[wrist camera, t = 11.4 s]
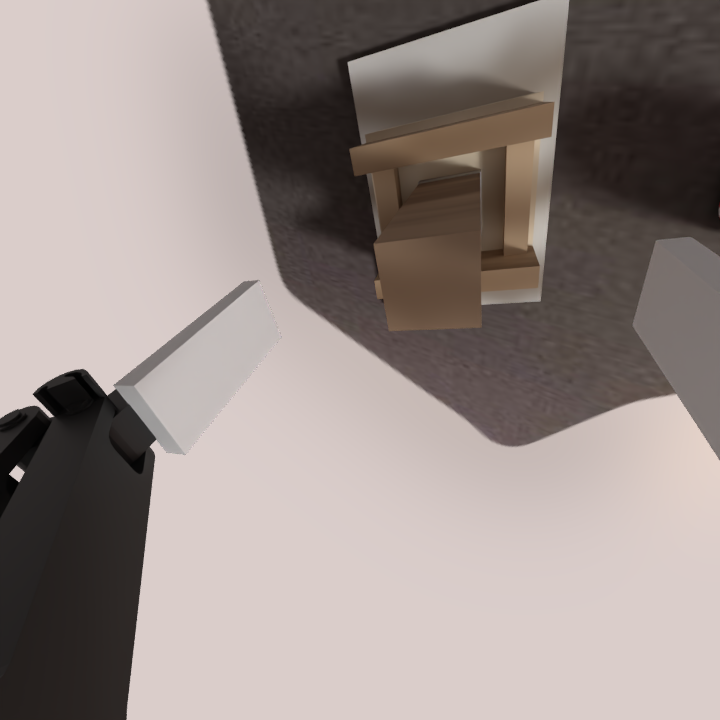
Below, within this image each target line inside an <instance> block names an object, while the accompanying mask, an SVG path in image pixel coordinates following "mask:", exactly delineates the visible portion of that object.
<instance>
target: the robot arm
mask: <svg viewBox="0 0 720 720" xmlns="http://www.w3.org/2000/svg"><path fill="white" fill-rule="evenodd" d="M632 326H633V327H634V329H635V330H636V332H637V334H638V335H639V337H640V338H641V340H642V341H643V343H644V344H645V346H646V347H647V349H648V350H649V352H650V354H651V355H652V357H653V358H654V360H655V361H656V363H657V364H658V366H659V367H660V369H661V371H662V372H663V374H664V375H665V377H666V378H667V380H668V381H669V383H670V384H671V386H672V387H673V389H674V391H675V392H676V394H677V395H678V397H679V398H680V400H681V401H682V403H683V404H684V406H685V407H686V409H687V411H688V412H689V414H690V415H691V417H692V418H693V420H694V421H695V423H696V424H697V426H698V428H699V429H700V430H701V432H702V433H703V435H704V436H705V438H706V440H707V441H708V443H709V444H710V446H711V448H712V449H713V451H714V452H715V453H716V455H717V457H718V458H719V460H720V256H718V255H717V254H715V253H714V252H712V251H711V250H709V249H708V248H707V247H705V246H704V245H702V244H701V243H699V242H698V241H696V240H695V239H693V238H692V237H683V238H673V239H663V240H656V242H655V246H654V249H653V253H652V256H651V260H650V264H649V267H648V271H647V274H646V278H645V282H644V285H643V289H642V292H641V296H640V300H639V303H638V307H637V311H636V314H635V318H634V321H633V325H632ZM280 338H281V334H280V332H279V329H278V326H277V324H276V321H275V319H274V316H273V314H272V311H271V309H270V306H269V304H268V301H267V299H266V296H265V294H264V291H263V288H262V286H261V283H260V281H259V280H257V281H247V282H243V283H241V284H240V285H239V286H238V287H237V288H235V289H234V290H233V291H232V292H230V293H229V294H228V295H226V296H225V297H224V298H223V299H221V300H220V301H219V302H218V303H216V305H214V306H213V307H211V308H210V309H209V310H208V311H206V312H205V313H204V314H202V315H201V316H200V317H199V318H197V319H196V320H195V321H194V322H192V323H191V324H190V325H189V326H188V327H186V328H185V329H184V330H182V331H181V332H180V333H179V334H177V335H176V336H175V337H174V338H172V339H171V340H170V341H169V342H167V343H166V344H165V345H164V346H162V347H161V348H160V349H159V350H157V351H156V352H155V353H154V354H152V355H151V356H150V357H148V358H147V359H146V360H145V361H143V362H142V363H141V364H140V365H138V366H137V367H136V368H135V369H133V370H132V371H131V372H130V373H128V374H127V375H126V376H125V377H123V378H122V379H121V380H119V381H118V382H117V383H116V384H114V387H115V388H116V390H114V391H113V392H112V393H110V394H109V395H108V396H107V395H106V394H105V392H104V391H103V390H102V389H101V388H100V386H99V385H98V384H97V383H96V381H95V380H94V379H93V378H92V377H91V375H90V374H89V373H88V372H87V371H86V370H84V369H80V370H74V371H70V372H67V373H65V374H62V375H60V376H58V377H56V378H54V379H52V380H50V381H49V382H47V383H45V384H44V385H42V386H41V387H40V388H38V389H37V390H36V391H35V392H34V393H33V395H34V396H35V397H36V398H37V399H38V400H39V401H40V402H41V403H42V404H43V405H44V406H45V407H46V409H47V410H49V411H50V413H51V414H52V415H53V416H54V417H51V418H49V417H48V416H47V415H46V414H45V413H44V412H43V411H42V410H41V409H40V408H39V407H37V406H30V407H26V408H23V409H20V410H18V409H17V410H15V411H13V412H11V413H9V414H7V415H5V416H4V417H2V418H1V419H0V720H126V719H127V718H126V716H127V714H126V713H127V702H128V693H129V684H130V676H131V666H132V658H133V648H134V640H135V631H136V621H137V613H138V604H139V595H140V586H141V577H142V568H143V559H144V551H145V541H146V533H147V523H148V515H149V506H150V496H151V488H152V479H153V470H154V461H155V454H154V452H153V451H152V449H151V448H150V445H151V444H152V443H153V442H154V441H155V440H157V441H158V442H159V443H160V445H161V446H162V447H163V448H164V450H165V451H166V452H167V453H175V454H183V455H186V453H187V452H188V451H189V450H190V449H191V447H192V446H193V445H194V444H195V442H196V441H197V440H198V439H199V438H200V436H201V435H202V434H203V433H204V431H205V430H206V429H207V428H208V427H209V425H210V424H211V423H212V422H213V420H214V419H215V418H216V417H217V416H218V414H219V413H220V412H221V411H222V409H223V408H224V407H225V406H226V405H227V403H228V402H229V401H230V400H231V398H232V397H233V396H234V395H235V394H236V392H237V391H238V390H239V388H240V387H241V386H242V385H243V384H244V383H245V381H246V380H247V379H248V378H249V376H250V375H251V374H252V373H253V372H254V370H255V369H256V368H257V366H258V365H259V364H260V363H261V362H262V361H263V359H264V358H265V357H266V356H267V354H268V353H269V352H270V351H271V350H272V348H273V347H274V346H275V344H276V343H277V342H278V341H279V340H280ZM16 465H17V466H18V467H20V468H21V469H22V470H23V471H24V472H25V473H24V475H23V477H22V479H21V481H20V482H18V481H17V480H15V479H14V478H13V477H11V476H10V475H9V473H10V472H11V471H12V470H13V469H14V467H15V466H16Z"/></svg>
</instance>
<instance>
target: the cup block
mask: <svg viewBox="0 0 720 720" xmlns="http://www.w3.org/2000/svg"><path fill="white" fill-rule="evenodd" d="M568 7H569V0H539V1H536V2H532V3H529V4H526V5H523V6H520V7H517V8H514V9H511V10H508V11H505V12H502V13H498V14H495V15H492V16H489V17H486V18H483V19H480V20H477V21H474V22H471V23H467V24H464V25H461V26H458V27H455V28H452V29H449V30H446V31H443V32H440V33H436V34H433V35H430V36H427V37H424V38H421V39H418V40H415V41H412V42H409V43H406V44H402V45H399V46H396V47H393V48H390V49H387V50H384V51H381V52H378V53H375V54H371V55H368V56H365V57H362V58H359V59H356V60H353V61H350V62H348V68H349V74H350V80H351V86H352V92H353V97H354V103H355V109H356V115H357V121H358V127H359V132H360V138H361V144H362V145H359V146H356V147H354V148H351V149H349V150H350V155H351V161H352V166H353V171H354V176H359V175H364V174H367V179H368V185H369V191H370V197H371V203H372V209H373V214H374V220H375V226H376V232H377V238H378V237H379V236H380V235H381V233H382V232H383V231H384V229H385V228H386V227H387V225H388V224H389V223H390V221H391V220H392V219H393V217H394V216H395V215H396V213H397V212H398V211H399V209H400V208H401V207H402V205H403V204H404V203H405V201H406V200H407V199H408V197H409V196H410V195H411V193H412V192H413V191H414V189H415V188H416V187H417V185H418V182H419V181H420V180H426V179H431V178H437V177H442V176H447V175H453V174H458V173H464V172H469V171H475V170H480V169H481V215H482V236H481V305H484V304H501V303H518V302H536V301H541V290H542V280H543V269H544V259H545V248H546V238H547V227H548V217H549V206H550V196H551V185H552V175H553V164H554V154H555V144H556V133H557V123H558V112H559V102H560V91H561V81H562V70H563V60H564V49H565V39H566V28H567V18H568ZM374 282H375V288H376V293H377V298H378V299H383V295H382V289H381V283H380V278H379V274H378V275H377V277H376V279H375V280H374Z"/></svg>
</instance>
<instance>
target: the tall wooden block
mask: <svg viewBox="0 0 720 720" xmlns="http://www.w3.org/2000/svg"><path fill="white" fill-rule="evenodd" d="M481 236H482V215H481V169H480V170H475V171H469V172H464V173H458V174H453V175H447V176H442V177H437V178H431V179H426V180H420V181H419V182H418V185H417V187H416V188H415V189H414V191H413V192H412V193H411V195H410V196H409V197H408V199H407V200H406V201H405V203H404V204H403V205H402V207H401V208H400V209H399V211H398V212H397V213H396V215H395V216H394V217H393V219H392V220H391V221H390V223H389V224H388V225H387V227H386V228H385V229H384V231H383V232H382V233H381V235H380V236H379V237H378V239H377V240H376V241H375V242H374V250H375V256H376V261H377V267H378V272H379V278H380V283H381V289H382V295H383V300H384V306H385V311H386V317H387V323H388V328H389V331H403V330H430V329H457V328H481Z"/></svg>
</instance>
